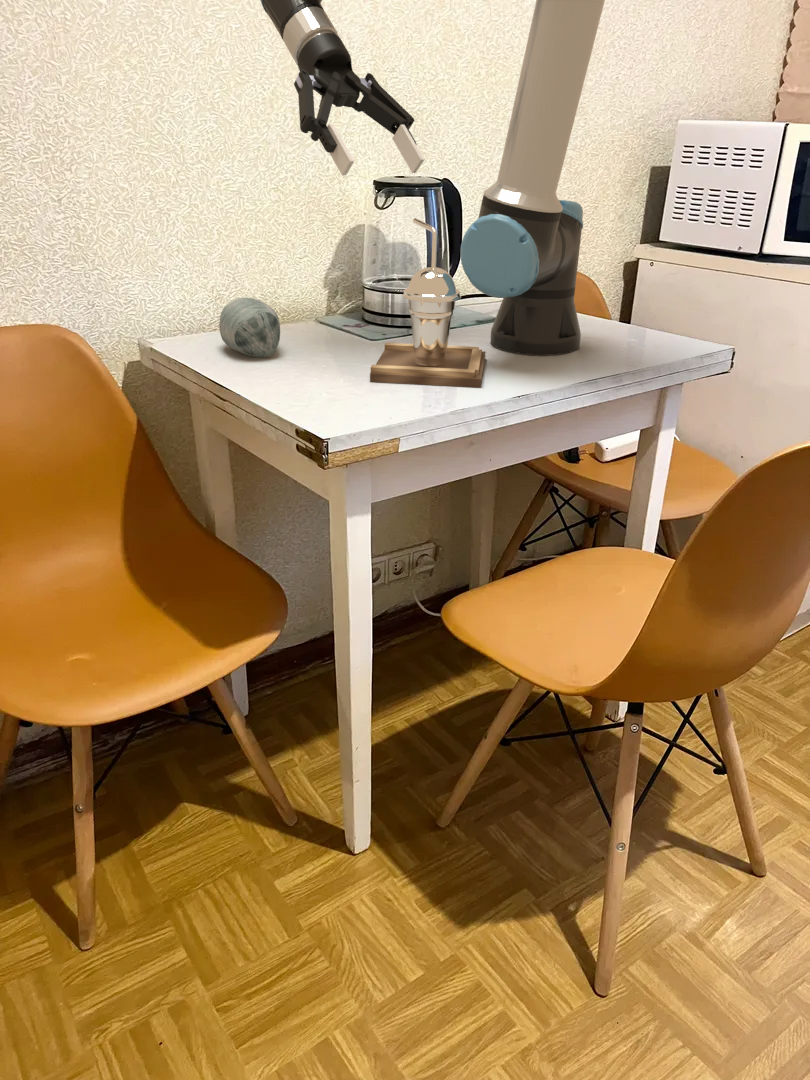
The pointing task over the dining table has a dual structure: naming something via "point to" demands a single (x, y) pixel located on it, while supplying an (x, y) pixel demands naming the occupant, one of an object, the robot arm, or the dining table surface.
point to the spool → (250, 327)
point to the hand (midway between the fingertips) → (384, 167)
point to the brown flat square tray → (429, 367)
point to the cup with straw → (431, 308)
